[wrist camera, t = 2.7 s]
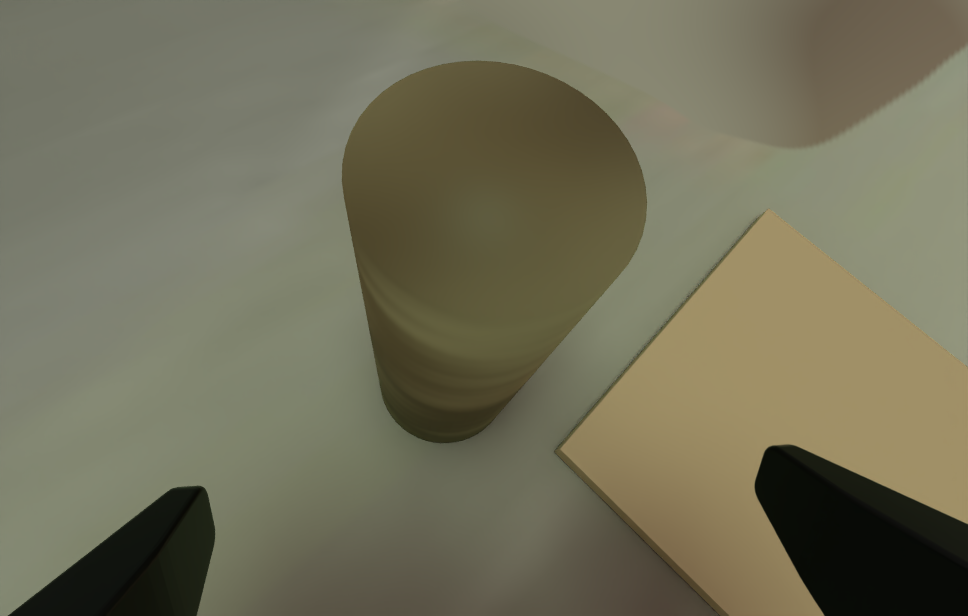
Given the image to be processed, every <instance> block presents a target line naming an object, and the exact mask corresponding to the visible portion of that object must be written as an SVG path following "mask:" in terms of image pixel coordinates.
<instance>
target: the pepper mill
mask: <svg viewBox="0 0 968 616" xmlns="http://www.w3.org/2000/svg"><path fill="white" fill-rule="evenodd" d="M342 186H343V193H344V200H345V205H346V210H347V216H348V221H349V226H350V231H351V236H352V242H353V247H354V252H355V257H356V262H357V268H358V273H359V278H360V283H361V289H362V294H363V299H364V304H365V309H366V315H367V320H368V325H369V330H370V336H371V341H372V346H373V351H374V356H375V362H376V367H377V372H378V377H379V383H380V388H381V393H382V397H383V400H384V403H385V405H386V407H387V410H388V411H389V413H390V414H391V416H392V417H393V418H394V420H395V421H396V422H397V423H398V424H399V425H400V426H401V427H402V428H403V429H404V430H406V431H407V432H409V433H410V434H412V435H414V436H416V437H418V438H421V439H423V440H426V441H431V442H436V443H452V442H457V441H462V440H465V439H467V438H470V437H472V436H474V435H476V434H478V433H479V432H481V431H482V430H483V429H485V428H486V427H487V426H488V425H489V424H490V423H491V422H492V421H493V420H494V418H495V417H496V416H497V415H498V414H499V413H500V412H501V410H502V409H503V408H504V407H505V406H506V405H507V403H508V402H509V401H510V400H511V399H512V398H513V397H514V395H515V394H516V393H517V392H518V391H519V390H520V389H521V387H522V386H523V385H524V384H525V383H526V382H527V381H528V379H529V378H530V377H531V376H532V375H533V374H534V372H535V371H536V370H537V369H538V368H539V367H540V366H541V364H542V363H543V362H544V361H545V360H546V359H547V358H548V356H549V355H550V354H551V353H552V352H553V351H554V350H555V348H556V347H557V346H558V345H559V344H560V343H561V341H562V340H563V339H564V338H565V337H566V336H567V335H568V333H569V332H570V331H571V330H572V329H573V328H574V327H575V325H576V324H577V323H578V322H579V321H580V320H581V319H582V317H583V316H584V315H585V314H586V313H587V312H588V310H589V309H590V308H591V307H592V306H593V305H594V304H595V302H596V301H597V300H598V299H599V298H600V297H601V296H602V294H603V293H604V292H605V291H606V290H607V289H608V288H609V286H610V285H611V284H612V283H613V282H614V281H615V279H616V278H617V277H618V276H619V275H620V274H621V272H622V271H623V270H624V269H625V268H626V266H627V265H628V264H629V262H630V260H631V259H632V257H633V255H634V253H635V252H636V250H637V247H638V245H639V242H640V240H641V237H642V235H643V230H644V226H645V221H646V211H647V197H646V186H645V182H644V178H643V174H642V170H641V167H640V165H639V162H638V159H637V157H636V154H635V153H634V151H633V149H632V147H631V145H630V143H629V142H628V140H627V138H626V137H625V136H624V134H623V133H622V131H621V130H620V128H619V127H618V126H617V125H616V124H615V122H614V121H613V120H612V119H611V118H610V117H609V116H608V115H607V113H605V112H604V111H603V110H602V109H601V108H600V107H599V106H598V105H597V104H595V103H594V102H593V101H592V100H590V99H589V98H588V97H586V96H585V95H584V94H582V93H581V92H580V91H578V90H576V89H574V88H573V87H571V86H569V85H568V84H566V83H564V82H562V81H560V80H558V79H556V78H554V77H551V76H549V75H547V74H544V73H541V72H538V71H536V70H533V69H530V68H526V67H522V66H518V65H514V64H507V63H501V62H491V61H464V62H455V63H448V64H442V65H438V66H435V67H431V68H427V69H424V70H422V71H419V72H416V73H414V74H411V75H409V76H407V77H405V78H404V79H402V80H400V81H398V82H396V83H395V84H393V85H392V86H390V87H389V88H388V89H386V90H385V91H383V92H382V93H381V94H380V95H379V96H378V97H377V98H376V99H375V100H374V101H372V102H371V103H370V104H369V106H368V107H367V108H366V109H365V111H364V112H363V113H362V115H361V116H360V117H359V119H358V121H357V122H356V124H355V126H354V128H353V130H352V131H351V134H350V137H349V139H348V142H347V145H346V148H345V153H344V158H343V164H342Z"/></svg>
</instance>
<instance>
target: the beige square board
mask: <svg viewBox="0 0 968 616" xmlns="http://www.w3.org/2000/svg"><path fill="white" fill-rule="evenodd" d="M784 444H791V445H795V446H798V447H800V448H802V449H804V450H807V451H809V452H811V453H813V454H815V455H818V456H820V457H822V458H824V459H826V460H829V461H831V462H833V463H835V464H837V465H840V466H842V467H844V468H846V469H848V470H850V471H853V472H855V473H857V474H859V475H861V476H864V477H866V478H868V479H870V480H872V481H875V482H877V483H879V484H881V485H883V486H886V487H888V488H890V489H892V490H894V491H897V492H899V493H901V494H903V495H905V496H907V497H910V498H912V499H914V500H916V501H918V502H921V503H923V504H925V505H927V506H929V507H932V508H934V509H936V510H938V511H940V512H943V513H945V514H947V515H949V516H951V517H954V518H956V519H958V520H960V521H962V522H965V523H967V524H968V367H967V366H966V365H964V364H963V363H962V362H961V361H959V360H958V359H957V358H955V357H954V356H953V355H952V354H950V353H949V352H948V351H947V350H945V349H944V348H943V347H942V346H940V345H939V344H938V343H937V342H935V341H934V340H933V339H932V338H930V337H929V336H928V335H927V334H925V333H924V332H923V331H922V330H920V329H919V328H918V327H917V326H915V325H914V324H913V323H912V322H910V321H909V320H908V319H907V318H905V317H904V316H903V315H902V314H900V313H899V312H898V311H897V310H895V309H894V308H893V307H892V306H890V305H889V304H888V303H887V302H885V301H884V300H883V299H882V298H880V297H879V296H878V295H876V294H875V293H874V292H873V291H871V290H870V289H869V288H868V287H866V286H865V285H864V284H863V283H861V282H860V281H859V280H858V279H856V278H855V277H854V276H853V275H851V274H850V273H849V272H848V271H846V270H845V269H844V268H843V267H841V266H840V265H839V264H838V263H836V262H835V261H834V260H833V259H831V258H830V257H829V256H828V255H826V254H825V253H824V252H823V251H821V250H820V249H819V248H818V247H816V246H815V245H814V244H813V243H811V242H810V241H809V240H808V239H806V238H805V237H804V236H802V235H801V234H800V233H799V232H797V231H796V230H795V229H794V228H792V227H791V226H790V225H789V224H787V223H786V222H785V221H784V220H782V219H781V218H780V217H779V216H777V215H776V214H775V213H774V212H772V211H771V210H770V209H767V210H766V211H765V212H764V213H763V214H762V215H760V216H759V217H758V218H757V219H756V221H755V222H754V223H753V224H752V225H751V226H750V227H749V229H748V230H747V231H746V232H745V233H744V234H743V236H742V237H741V238H740V239H739V240H738V241H737V242H736V244H735V245H734V246H733V247H732V248H731V249H730V250H729V252H728V253H727V254H726V255H725V256H724V257H723V258H722V260H721V261H720V262H719V263H718V264H717V265H716V267H715V268H714V269H713V270H712V271H711V272H710V273H709V275H708V276H707V277H706V278H705V279H704V280H703V281H702V283H701V284H700V285H699V286H698V287H697V288H696V289H695V291H694V292H693V293H692V294H691V295H690V296H689V298H688V299H687V300H686V301H685V302H684V303H683V304H682V306H681V307H680V308H679V309H678V310H677V311H676V312H675V314H674V315H673V316H672V317H671V318H670V319H669V320H668V322H667V323H666V324H665V325H664V326H663V327H662V329H661V330H660V331H659V332H658V333H657V334H656V335H655V337H654V338H653V339H652V340H651V341H650V342H649V343H648V345H647V346H646V347H645V348H644V349H643V350H642V351H641V353H640V354H639V355H638V356H637V357H636V358H635V360H634V361H633V362H632V363H631V364H630V365H629V366H628V368H627V369H626V370H625V371H624V372H623V373H622V374H621V376H620V377H619V378H618V379H617V380H616V381H615V382H614V384H613V385H612V386H611V387H610V388H609V389H608V391H607V392H606V393H605V394H604V395H603V396H602V397H601V399H600V400H599V401H598V402H597V403H596V404H595V405H594V407H593V408H592V409H591V410H590V411H589V412H588V413H587V415H586V416H585V417H584V418H583V419H582V420H581V422H580V423H579V424H578V425H577V426H576V427H575V428H574V430H573V431H572V432H571V433H570V434H569V435H568V436H567V438H566V439H565V440H564V441H563V442H562V443H561V444H560V446H559V447H558V448H557V449H556V450H555V451H554V452H555V453H556V454H557V455H558V456H559V457H560V458H561V459H562V460H563V461H564V462H565V463H566V464H567V465H568V466H569V467H570V468H571V469H572V470H573V471H574V472H575V473H576V474H577V475H578V476H579V477H580V478H581V479H582V480H583V481H584V482H585V483H586V484H587V485H588V486H589V487H591V488H592V489H593V490H594V491H595V492H596V493H597V494H598V495H599V496H600V497H601V498H602V499H603V500H604V501H605V502H606V503H607V504H608V505H609V506H610V507H611V508H612V509H613V510H614V511H615V512H616V513H617V514H618V515H619V516H620V517H621V518H622V519H623V520H624V521H625V522H626V523H627V524H628V525H629V526H630V527H631V528H632V529H633V530H634V531H635V532H636V533H637V534H638V535H639V536H640V537H641V538H642V539H643V540H644V541H645V542H646V543H647V544H648V545H649V546H650V547H651V548H652V549H653V550H654V551H655V552H656V553H657V554H658V555H659V556H660V557H661V558H662V559H663V560H664V561H665V562H666V563H667V564H669V565H670V566H671V567H672V568H673V569H674V570H675V571H676V572H677V573H678V574H679V575H680V576H681V577H682V578H683V579H684V580H685V581H686V582H687V583H688V584H689V585H690V586H691V587H692V588H693V589H694V590H695V591H696V592H697V593H698V594H699V595H700V596H701V597H702V598H703V599H704V600H705V601H706V602H707V603H708V604H709V605H710V606H711V607H712V608H713V609H714V610H715V611H716V612H717V613H718V614H719V615H720V616H824V614H823V613H822V611H821V610H820V608H819V607H818V605H817V604H816V602H815V601H814V599H813V597H812V596H811V594H810V593H809V591H808V590H807V588H806V586H805V585H804V583H803V581H802V580H801V578H800V576H799V574H798V573H797V571H796V569H795V567H794V565H793V564H792V562H791V560H790V558H789V556H788V554H787V553H786V551H785V549H784V547H783V545H782V543H781V541H780V540H779V538H778V536H777V534H776V532H775V530H774V528H773V527H772V525H771V523H770V521H769V519H768V517H767V516H766V514H765V512H764V510H763V508H762V506H761V504H760V503H759V501H758V499H757V497H756V494H755V489H754V483H755V479H756V476H757V473H758V470H759V466H760V463H761V460H762V457H763V454H764V451H765V450H766V449H767V448H768V447H769V446H772V445H784Z"/></svg>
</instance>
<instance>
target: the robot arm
mask: <svg viewBox="0 0 968 616" xmlns="http://www.w3.org/2000/svg"><path fill="white" fill-rule="evenodd" d="M754 489H755V494H756V497H757V499H758V501H759V503H760V504H761V506H762V508H763V510H764V512H765V514H766V516H767V517H768V519H769V521H770V523H771V525H772V527H773V528H774V530H775V532H776V534H777V536H778V538H779V540H780V541H781V543H782V545H783V547H784V549H785V551H786V553H787V554H788V556H789V558H790V560H791V562H792V564H793V565H794V567H795V569H796V571H797V573H798V574H799V576H800V578H801V580H802V581H803V583H804V585H805V586H806V588H807V590H808V591H809V593H810V594H811V596H812V597H813V599H814V601H815V602H816V604H817V605H818V607H819V608H820V610H821V611H822V613H823V614H824V616H968V524H967V523H965V522H962V521H960V520H958V519H956V518H954V517H951V516H949V515H947V514H945V513H943V512H940V511H938V510H936V509H934V508H932V507H929V506H927V505H925V504H923V503H921V502H918V501H916V500H914V499H912V498H910V497H907V496H905V495H903V494H901V493H899V492H897V491H894V490H892V489H890V488H888V487H886V486H883V485H881V484H879V483H877V482H875V481H872V480H870V479H868V478H866V477H864V476H861V475H859V474H857V473H855V472H853V471H850V470H848V469H846V468H844V467H842V466H840V465H837V464H835V463H833V462H831V461H829V460H826V459H824V458H822V457H820V456H818V455H815V454H813V453H811V452H809V451H807V450H804V449H802V448H800V447H798V446H795V445H791V444H784V445H772V446H769V447H768V448H767V449H766V450H765V451H764V454H763V457H762V460H761V463H760V466H759V470H758V473H757V476H756V479H755V483H754ZM214 542H215V526H214V521H213V516H212V512H211V507H210V503H209V498H208V494H207V491H206V489H205V488H204V487H202V486H187V487H176V488H173V489H171V490H169V491H167V492H166V493H165V494H164V495H162V496H161V497H160V498H158V499H157V500H156V501H155V502H153V503H152V504H151V505H149V506H148V507H147V508H146V509H144V510H143V511H142V512H140V513H139V514H138V515H137V516H135V517H134V518H133V519H131V520H130V521H129V522H128V523H126V524H125V525H124V526H122V527H121V528H120V529H119V530H117V531H116V532H115V533H113V534H112V535H111V536H110V537H108V538H107V539H106V540H104V541H103V542H102V543H101V544H99V545H98V546H97V547H96V548H94V549H93V550H92V551H90V552H89V553H88V554H87V555H85V556H84V557H83V558H81V559H80V560H79V561H78V562H76V563H75V564H74V565H72V566H71V567H70V568H69V569H67V570H66V571H65V572H63V573H62V574H61V575H60V576H58V577H57V578H56V579H54V580H53V581H52V582H51V583H49V584H48V585H47V586H45V587H44V588H43V589H42V590H40V591H39V592H38V593H36V594H35V595H34V596H33V597H31V598H30V599H29V600H27V601H26V602H25V603H24V604H22V605H21V606H20V607H18V608H17V609H16V610H15V611H13V612H12V613H11V614H9V615H8V616H197V612H198V608H199V604H200V600H201V596H202V592H203V588H204V584H205V580H206V576H207V572H208V568H209V564H210V559H211V555H212V551H213V547H214Z"/></svg>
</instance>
